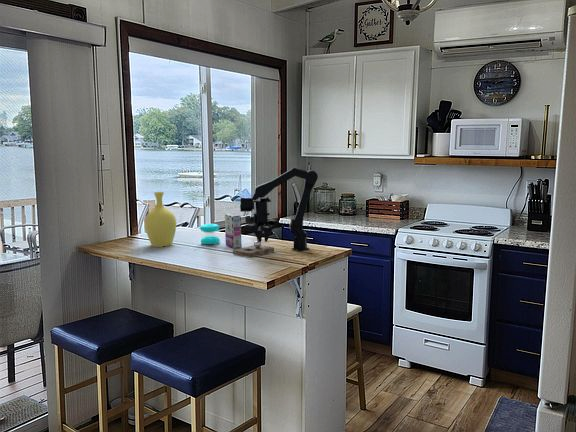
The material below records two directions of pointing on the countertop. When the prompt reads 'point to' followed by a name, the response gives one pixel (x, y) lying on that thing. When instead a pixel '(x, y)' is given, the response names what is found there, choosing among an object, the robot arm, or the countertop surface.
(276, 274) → the countertop surface
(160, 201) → the vase
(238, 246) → the candy bar box
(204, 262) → the countertop surface
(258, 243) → the steel ball
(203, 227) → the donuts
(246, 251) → the walnut plate
